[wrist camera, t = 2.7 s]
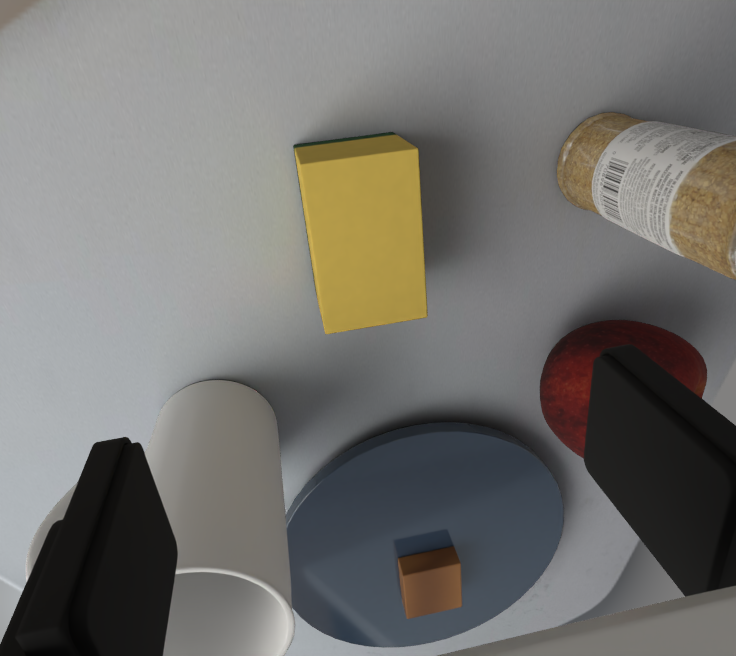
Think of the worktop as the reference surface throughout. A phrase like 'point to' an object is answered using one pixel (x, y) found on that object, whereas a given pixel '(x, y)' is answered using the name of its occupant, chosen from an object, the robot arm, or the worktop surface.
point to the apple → (575, 364)
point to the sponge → (364, 229)
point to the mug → (218, 522)
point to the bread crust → (430, 582)
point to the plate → (420, 530)
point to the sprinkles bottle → (657, 184)
